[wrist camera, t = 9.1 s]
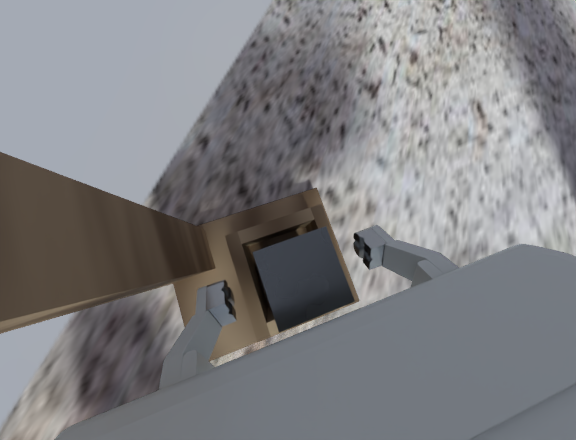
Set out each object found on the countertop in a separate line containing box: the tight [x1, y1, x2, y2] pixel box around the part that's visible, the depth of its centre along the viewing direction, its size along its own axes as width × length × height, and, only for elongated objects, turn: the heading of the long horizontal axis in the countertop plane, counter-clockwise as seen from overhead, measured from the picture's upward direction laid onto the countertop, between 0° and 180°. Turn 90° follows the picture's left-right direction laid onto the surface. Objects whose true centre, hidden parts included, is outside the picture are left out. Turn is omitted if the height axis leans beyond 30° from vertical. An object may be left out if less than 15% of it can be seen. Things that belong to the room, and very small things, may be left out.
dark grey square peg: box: [253, 226, 355, 333], centre depth 15 cm, size 4×4×10 cm
